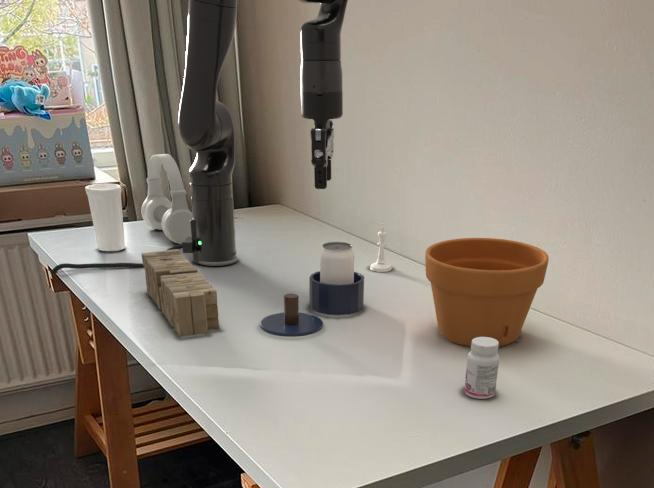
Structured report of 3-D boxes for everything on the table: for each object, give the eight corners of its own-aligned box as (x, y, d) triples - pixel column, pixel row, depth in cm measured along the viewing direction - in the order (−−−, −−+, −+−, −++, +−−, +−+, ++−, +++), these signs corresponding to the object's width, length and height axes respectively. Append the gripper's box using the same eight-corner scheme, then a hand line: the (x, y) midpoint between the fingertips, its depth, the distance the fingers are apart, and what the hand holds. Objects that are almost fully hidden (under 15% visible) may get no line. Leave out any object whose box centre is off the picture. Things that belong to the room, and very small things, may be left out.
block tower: (222, 338, 140) (183, 286, 162) (219, 293, 135) (180, 246, 157) (178, 344, 137) (145, 290, 159) (174, 297, 132) (140, 249, 154)
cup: (136, 248, 187) (128, 186, 180) (110, 255, 181) (102, 191, 174) (112, 243, 191) (104, 181, 183) (86, 250, 185) (77, 187, 177)
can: (357, 304, 154) (359, 243, 147) (346, 314, 148) (348, 251, 142) (326, 300, 155) (327, 239, 149) (315, 310, 150) (315, 247, 144)
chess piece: (392, 266, 178) (394, 221, 173) (391, 272, 174) (393, 226, 169) (370, 265, 178) (372, 220, 173) (369, 271, 174) (370, 225, 169)
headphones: (200, 242, 193) (194, 159, 182) (168, 246, 189) (159, 162, 179) (172, 225, 207) (165, 147, 197) (142, 229, 203) (132, 149, 193)
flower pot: (462, 363, 129) (471, 275, 122) (398, 324, 145) (402, 244, 138) (561, 344, 138) (575, 260, 130) (490, 308, 154) (499, 232, 146)
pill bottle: (460, 386, 121) (466, 335, 117) (490, 386, 122) (497, 335, 117) (467, 400, 117) (473, 347, 113) (498, 399, 118) (505, 346, 113)
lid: (255, 337, 138) (253, 304, 135) (266, 316, 148) (265, 284, 144) (318, 341, 137) (318, 307, 134) (326, 319, 147) (326, 287, 144)
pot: (306, 316, 148) (306, 284, 145) (313, 299, 157) (313, 268, 154) (360, 319, 147) (361, 286, 144) (365, 301, 156) (366, 270, 153)
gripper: (305, 85, 145) (308, 177, 153) (295, 91, 133) (298, 191, 141) (345, 85, 144) (346, 178, 153) (338, 91, 132) (339, 191, 141)
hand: (323, 184), depth 147 cm, fingers open, 8 cm apart
